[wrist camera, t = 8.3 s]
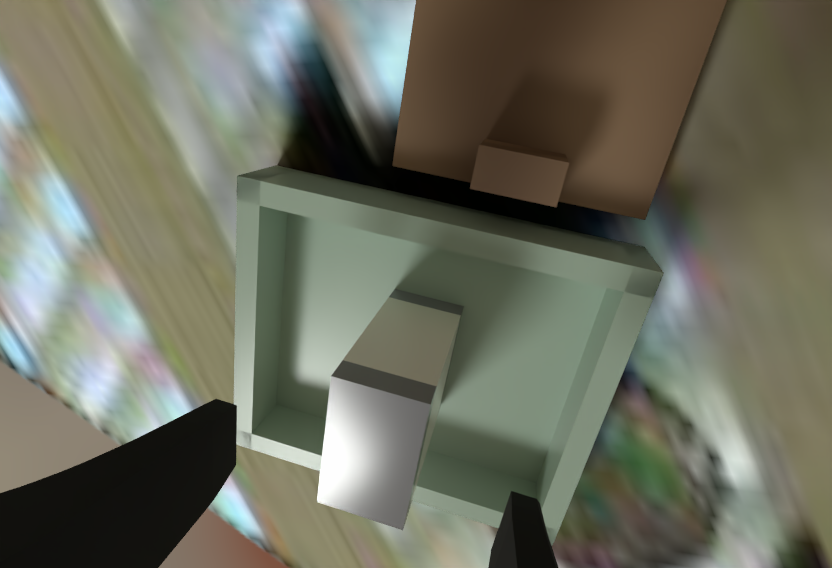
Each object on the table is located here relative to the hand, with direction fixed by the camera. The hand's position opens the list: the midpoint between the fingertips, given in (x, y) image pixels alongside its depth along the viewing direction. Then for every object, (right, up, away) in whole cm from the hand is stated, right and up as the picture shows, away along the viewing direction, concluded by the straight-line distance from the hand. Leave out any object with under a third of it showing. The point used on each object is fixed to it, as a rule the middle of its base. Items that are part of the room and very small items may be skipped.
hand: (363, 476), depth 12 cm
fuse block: (+5, +13, +2) cm, 14 cm away
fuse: (+1, +2, +6) cm, 7 cm away
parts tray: (+2, +3, +7) cm, 7 cm away
